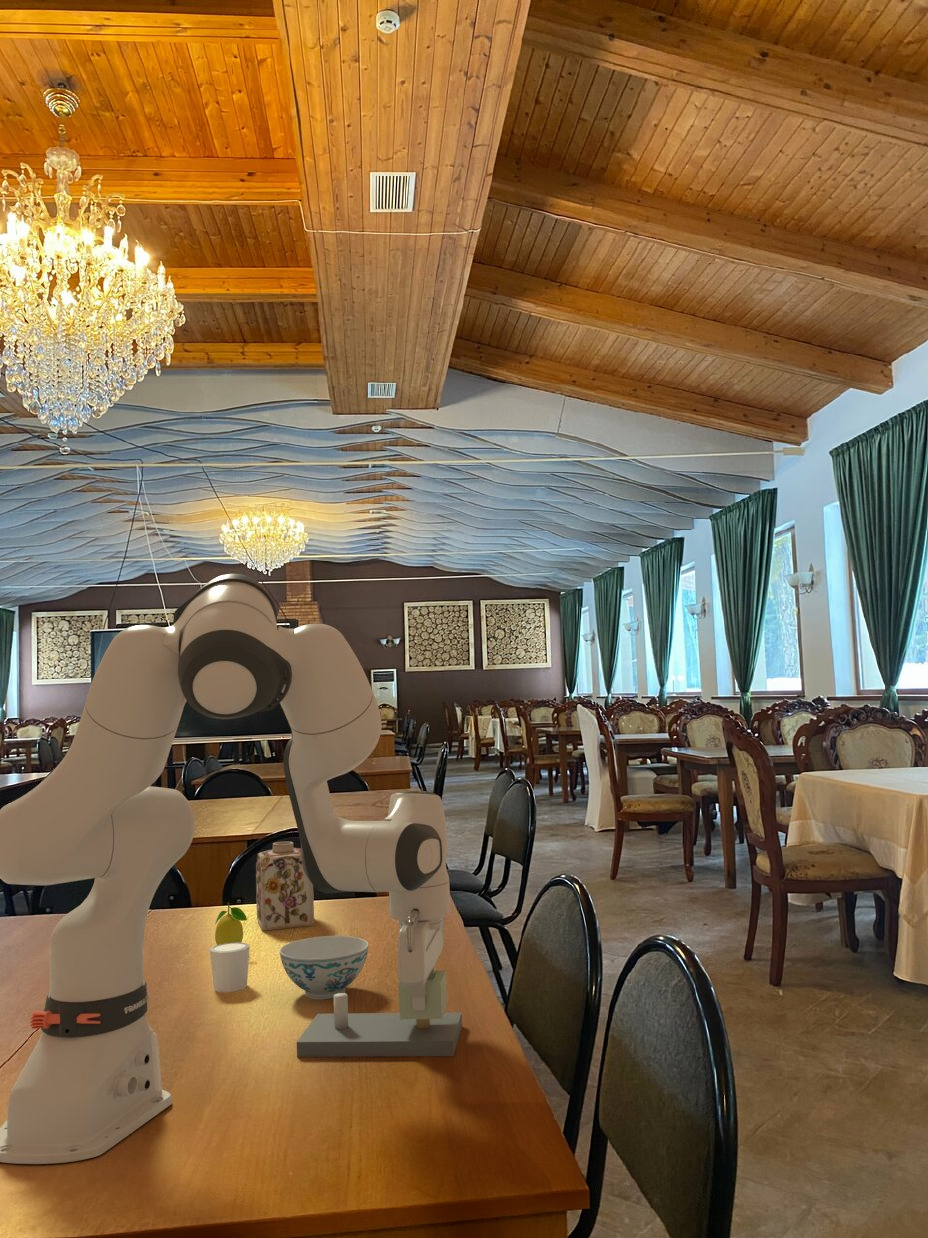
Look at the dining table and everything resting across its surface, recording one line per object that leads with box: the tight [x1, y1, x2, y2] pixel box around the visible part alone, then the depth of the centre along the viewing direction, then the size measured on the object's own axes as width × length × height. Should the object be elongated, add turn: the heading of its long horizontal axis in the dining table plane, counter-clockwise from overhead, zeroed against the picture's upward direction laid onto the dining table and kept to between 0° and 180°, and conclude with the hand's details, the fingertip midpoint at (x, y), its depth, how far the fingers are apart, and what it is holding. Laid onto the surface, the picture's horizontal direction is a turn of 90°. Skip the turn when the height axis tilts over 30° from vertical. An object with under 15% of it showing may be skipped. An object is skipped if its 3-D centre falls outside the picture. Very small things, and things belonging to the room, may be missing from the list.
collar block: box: [398, 969, 448, 1019], centre depth 138 cm, size 6×6×5 cm
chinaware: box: [279, 935, 369, 1000], centre depth 163 cm, size 15×15×8 cm
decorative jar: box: [255, 841, 315, 932], centre depth 217 cm, size 12×12×18 cm
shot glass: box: [209, 942, 251, 993], centre depth 169 cm, size 7×7×7 cm
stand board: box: [296, 992, 463, 1058], centre depth 139 cm, size 12×22×8 cm, turn 85°
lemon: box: [214, 902, 248, 945], centre depth 192 cm, size 7×6×10 cm
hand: (423, 1000), depth 138 cm, fingers closed on collar block, 6 cm apart
